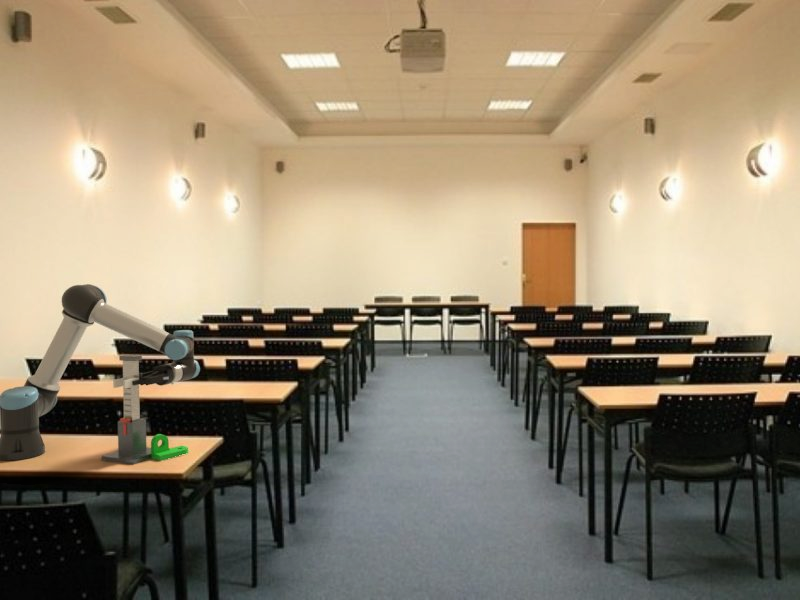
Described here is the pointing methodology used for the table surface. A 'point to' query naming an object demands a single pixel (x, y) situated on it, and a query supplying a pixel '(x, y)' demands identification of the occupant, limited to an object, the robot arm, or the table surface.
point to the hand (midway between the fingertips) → (119, 384)
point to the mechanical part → (165, 448)
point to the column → (133, 392)
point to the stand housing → (130, 443)
